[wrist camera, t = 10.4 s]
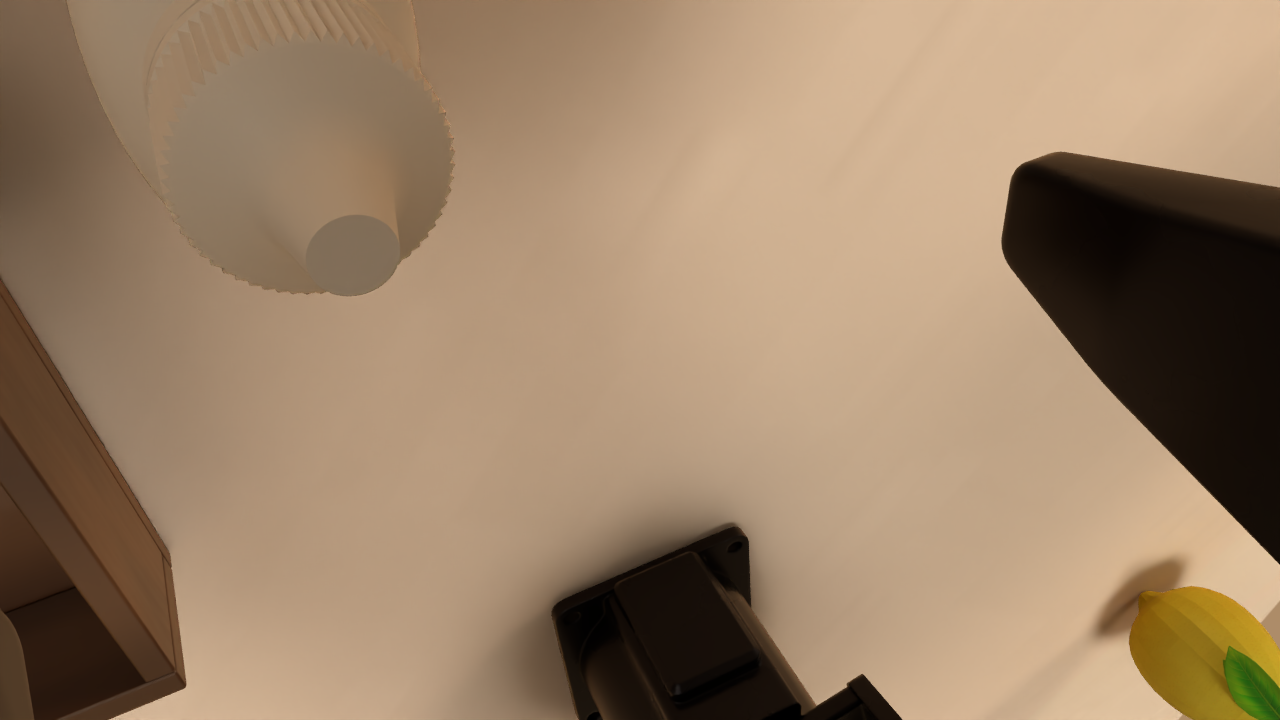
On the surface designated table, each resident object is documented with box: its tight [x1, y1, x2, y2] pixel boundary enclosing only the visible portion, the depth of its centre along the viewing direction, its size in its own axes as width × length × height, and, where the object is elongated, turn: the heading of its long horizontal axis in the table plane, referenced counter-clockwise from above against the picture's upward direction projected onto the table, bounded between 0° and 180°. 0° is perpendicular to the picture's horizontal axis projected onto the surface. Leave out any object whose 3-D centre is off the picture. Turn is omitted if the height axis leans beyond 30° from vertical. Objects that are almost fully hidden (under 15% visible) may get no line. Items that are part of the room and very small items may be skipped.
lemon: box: [1129, 586, 1280, 720], centre depth 46 cm, size 7×6×10 cm
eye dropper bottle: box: [66, 0, 455, 296], centre depth 12 cm, size 4×6×12 cm
